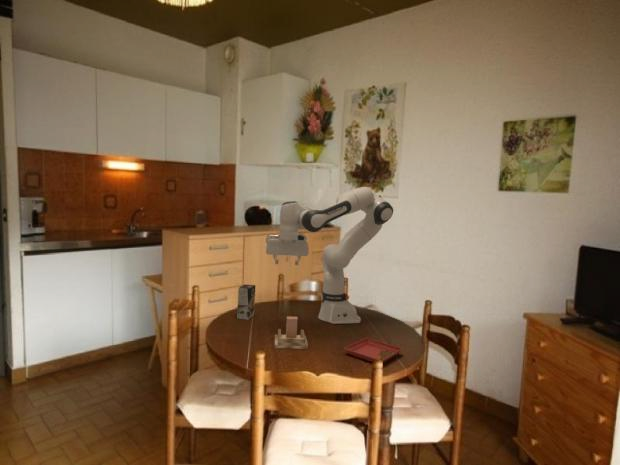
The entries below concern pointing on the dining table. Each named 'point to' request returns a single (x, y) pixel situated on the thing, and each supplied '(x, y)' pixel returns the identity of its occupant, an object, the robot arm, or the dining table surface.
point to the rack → (291, 341)
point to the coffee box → (246, 302)
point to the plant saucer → (371, 349)
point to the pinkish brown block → (291, 327)
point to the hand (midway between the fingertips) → (286, 264)
